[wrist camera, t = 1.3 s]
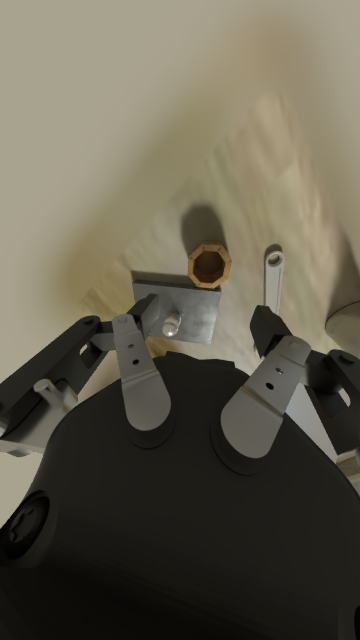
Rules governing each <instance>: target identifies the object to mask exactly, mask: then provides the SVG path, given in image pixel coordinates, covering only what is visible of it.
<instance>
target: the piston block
mask: <svg viewBox="0 0 360 640" xmlns="http://www.w3.org/2000/svg"><path fill="white" fill-rule="evenodd" d="M132 285H133V291H134V297H135V303H137V302H138V301H139V300H141V299H143V298H146V297H147V295H148V294H149V293H152V294H158V295H159V302H160V315H159V317H158V319H157V321H156V323H155V324H154V326H153V328H152V330H151V331H150V333H149V335H148V336H153V337H159V338H166V339H172V340H179V341H185V342H192V343H198V344H205V345H210V344H211V339H212V334H213V329H214V324H215V319H216V315H217V310H218V305H219V300H220V295H221V288H205V287H198V286H193V285H183V284H173V283H163V282H153V281H143V280H136V281H134V282H133V283H132Z"/></svg>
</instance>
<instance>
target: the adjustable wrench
mask: <svg viewBox="0 0 360 640" xmlns="http://www.w3.org/2000/svg"><path fill="white" fill-rule="evenodd" d="M273 254H278V255H279V261H278V262H277V263H276V264H269V262H268V259H269V257H270V256H271V255H273ZM283 267H284V254H283V253H282V252H280V251H272V252H270V253H268V255H267V256H266V257H265V267H264V306H269V307H270V309H271V310H272V312H273V313H275V314H277V315H279V305H280V296H281V286H282V277H283ZM254 352H255V355H256V357H257V358H259V359H260V357H259V354H258V351H257V348H256V345H255V347H254Z"/></svg>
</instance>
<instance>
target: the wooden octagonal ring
mask: <svg viewBox="0 0 360 640" xmlns="http://www.w3.org/2000/svg"><path fill="white" fill-rule="evenodd" d="M203 251H216V252H218V253H219V254H220V255H221V257H222V258H223V263H222V267H221V268H220V269H219V270H218V271H216V272H215V273H214V274H203V273H201V271H200V270H199V269H198V268H197V266H196V258H197V257H198V256H199V255H200V254H201V253H202V252H203ZM231 262H232V260H231V258H230V256H229V254H228V252H227V251H226V249H225V248H224V247H223V245H222V244H221V242H220V241H203V242H202V243H201V244H200V245H199V246H198V247H197V248H196V249H195V250H194V251H193V252H192V253H191V255H190V256H189V259H188V276H189V277H190V278H191V279H192V281H193V282H194V283H195V284H196V285H197V286H198V287H205V288H215V287H216V286H218V285H219V284H221V283H222V282H223V281H225V280H226V279H228V275H229V271H230V266H231Z"/></svg>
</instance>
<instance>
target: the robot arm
mask: <svg viewBox="0 0 360 640" xmlns="http://www.w3.org/2000/svg"><path fill="white" fill-rule="evenodd" d="M159 315H160V302H159V295H158V294H152V293H149V294H148V295H147V297H146V298H143V299H141V300H139V301H138V302H137V303H136V304H135V305H134V306H133V307H132V308H131V309H130V310H129V311H128V312H127V313H126V314H120V315H117V316H115V317H114V318H113V319H112V321H106V322H101V320H100V318H99V317H98V316H86V317H84V318H81V319H80V320H79V321H77V322H76V323H75V324H74V325H72V326H71V327H70V328H69V329H67V330H66V331H65V332H64V333H62V334H61V335H60V336H59V337H57V338H56V339H55V340H54V341H52V342H51V343H50V344H49V345H48V346H46V347H45V348H44V349H43V350H41V351H40V352H39V353H38V354H36V355H35V356H34V357H33V358H31V359H30V360H29V361H28V362H27V363H25V364H24V365H23V366H22V367H20V368H19V369H18V370H17V371H16V372H14V373H13V374H12V375H10V376H9V377H8V378H7V379H6V380H5V381H3V382H2V383H1V384H0V452H6V453H9V454H11V455H13V456H16V457H23V456H26V455H28V454H30V453H32V452H38V453H43V454H44V455H43V458H42V461H41V463H40V466H39V468H38V471H37V473H36V475H35V478H34V480H33V482H32V484H31V486H30V488H29V490H28V492H27V493H26V495H25V497H24V499H23V500H22V502H21V503H20V505H19V506H18V508H17V509H16V510H15V512H14V513H13V514H12V515H11V517H10V518H9V519H8V520H7V522H6V523H5V524H4V525H3V526H2V528H1V529H0V640H360V302H357V303H354V304H351V305H348V306H346V307H344V308H342V309H341V310H339V311H337V312H336V313H335V314H334V315H332V316H331V318H330V319H329V320H328V322H327V323H326V327H325V328H326V333H327V334H328V335H329V336H330V337H331V338H332V339H333V340H334V341H335V342H336V343H337V344H338V345H339V346H340V347H341V349H342V350H343V351H342V350H336V349H333V350H331V351H329V353H328V354H327V355H326V354H323V353H320V352H317V351H313V350H311V346H310V345H309V344H308V343H307V342H306V341H304V340H303V339H301V338H298V337H296V336H293V335H292V333H291V332H290V330H289V329H288V328H287V326H286V325H285V323H284V322H283V320H282V319H281V317H279V316H278V315H277V314H275V313H273V312H272V310H271V309H270V307H269V306H261V305H258V306H257V307H256V309H255V311H254V314H253V317H252V319H251V322H250V330H251V333H252V336H253V339H254V342H255V345H256V348H257V351H258V354H259V357H260V360H263V361H262V363H261V364H260V365H259V366H258V368H257V369H256V370H255V371H254V373H253V374H252V375H251V376H249V375H248V374H246V373H245V372H243V371H242V370H240V369H237V368H235V364H234V362H232V361H226V360H220V359H206V360H199V359H196V358H193V357H191V356H188V355H185V354H183V353H177V352H171V351H167V352H166V355H165V356H159V357H155V358H153V359H152V357H151V355H150V353H149V350H148V348H147V345H146V343H145V340H146V338H147V337H148V335H149V333H150V331H151V330H152V328H153V326H154V324H155V323H156V321H157V319H158V317H159ZM85 344H86V345H87V348H86V349H85V350H84V351H83V353H82V354H81V355H80V350H81V349H82V347H83V346H84V345H85ZM110 350H116V353H117V359H118V365H119V370H120V376H121V378H120V379H118V380H116V381H115V382H113V383H112V384H110V385H108V386H107V387H105V388H104V389H102V390H100V391H99V392H97V393H96V394H94V395H93V396H91V397H89V398H88V399H86V400H85V401H83V402H82V403H80V404H78V405H77V402H78V396H77V395H78V394H79V392H80V391H81V390H82V388H83V387H84V385H85V384H86V383H87V381H88V380H89V378H90V377H91V376H92V374H93V373H94V371H95V370H96V369H97V367H98V366H99V364H100V363H101V362H102V360H103V359H104V357H105V356H106V355H107V353H108V352H109V351H110ZM298 382H299V383H301V384H304V386H305V389H306V391H307V393H308V395H309V397H310V399H311V401H312V403H313V406H314V408H315V409H316V411H317V414H318V416H319V418H320V420H321V422H322V424H323V426H324V428H325V430H326V433H327V434H328V437H329V439H330V440H331V443H332V445H333V447H334V449H335V451H336V453H337V455H338V457H337V459H336V464H335V463H334V462H333V461H332V460H331V459H330V458H329V457H328V456H327V455H326V454H325V453H324V452H323V451H322V450H321V449H320V448H319V447H318V446H317V445H316V444H315V443H314V442H313V441H312V439H311V438H310V437H309V436H308V435H307V434H306V433H305V432H304V431H303V430H302V429H301V428H300V427H299V426H298V425H297V424H296V423H295V422H294V421H293V420H292V419H291V418H290V417H289V416H288V415H287V413H286V412H285V410H286V408H287V406H288V404H289V401H290V399H291V397H292V395H293V393H294V391H295V389H296V386H297V384H298ZM342 388H343V389H344V390H345V391H346V393H347V394H348V396H349V398H350V401H351V402H350V406H349V407H348V406H347V405H346V403H345V402H344V400H343V399H342V397H341V396H340V394H339V393H338V391H339V390H341V389H342ZM76 405H77V406H76Z"/></svg>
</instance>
